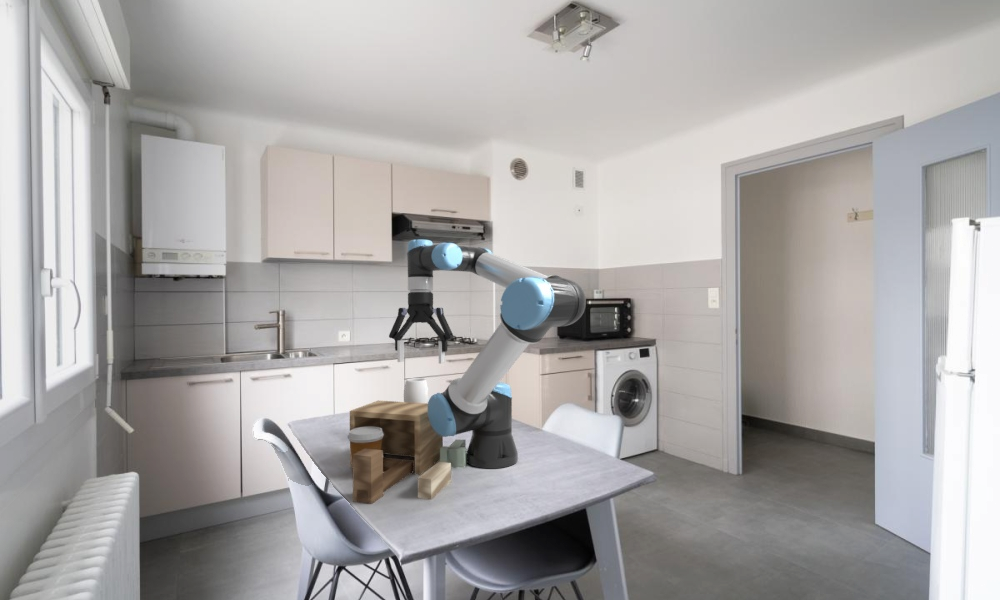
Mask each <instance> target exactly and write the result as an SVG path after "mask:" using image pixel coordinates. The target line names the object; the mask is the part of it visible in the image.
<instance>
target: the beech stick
mask: <svg viewBox="0 0 1000 600" xmlns="http://www.w3.org/2000/svg"><path fill="white" fill-rule="evenodd" d="M451 482H452V467H451V463H446V462H440V461H438V462H436V463H435V464H434V465H432V466H431V467H430V468H428V469H427V470H426V471H424V472H423V473H422V474H420V475H418V477H417V498H418V499H422V500H423V499H424V500H433V499H434V498H435V497H436V496H437V495H438V494H439V493H441V491H442V490H444V489H445V488H446V487H447V486H448V485H450V483H451Z"/></svg>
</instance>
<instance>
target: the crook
mask: <svg viewBox="0 0 1000 600" xmlns="http://www.w3.org/2000/svg"><path fill="white" fill-rule="evenodd" d="M413 473H415V460H410V459H402V458H392V457H384V454H383V450H375V449H363V450H361V451H359V452H357V453H355V454H353V467H352V502H353V503H362V504H368V505H372V504H374V503H375V502H377V501H378V500H380V499H381V498H382V497H384V493H385V492H386V491H388V490H390V489H391V488H393V487H394V486H396V485H397V484H399V482H401V481H403V480H404V479H406V478H407V477H408V476H410V475H412V474H413Z"/></svg>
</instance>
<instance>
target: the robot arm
mask: <svg viewBox="0 0 1000 600" xmlns="http://www.w3.org/2000/svg"><path fill="white" fill-rule="evenodd" d="M406 256H407V290H408V291H409V292H408V293H407V305H408V307H407V308H406V307H399V308H398V310H397V311H398V312H397V316H396V318H395V321H394V323H393V325H392V328H391V330H390V332H389V334H388V337H389V338H390V339H393V340H394V349H395V351H396V352H397V357H396V359H397V360H396V361H397V363H402V362H405V340H404V339H403V337H404V336H405V335H406V333H407V332H408V331H409V329H410V328H411V327H412V326H413V324H414V323H417V324H418V323H423V324H424V323H426V324H427V325H429V327H431V329H432V330H433V332H434V333H435V335H437V337H438V338H439V339H440V340H438V364H445V362H446V357H445V356H446V355H445V354H446V352H447V351H448V341H449V340H451V339H453V338H454V334H453V332H452V329H451V328H450V325H449V322H448V321H447V319H446V317H445V314H444V313H445V312H444V308H443V307H435V308H434V293H433V292H432V291H433V290H434V271H448V272H450V271H451V272H465V273H466V272H467V273H469V272H470V273H472V274H475V275H476V276H479V277H482V278H483V279H486V280H487V281H491V282H492V283H495V284H496V285H498V286H501V287H503V288H505V289H504V291H503V293H502V296H501V299H500V301H501V304H500V314H499V319H500V321H501V322H500V324H499V325H498V326H497V328H496V329H495V330H494V332H493V333H492V334H491V336H490V337H489V339H488V340H487V342H486V343H485V344H484V345H483V347H482V348H481V350H480V351H479V352H478V354H477V355H476V357H475V358H474V359H473V361H472V362H471V364H470V365H469V366H468V368H467V369H466V371H465V372H464V374H463V375H462V377H457V378H455V379H453V380H451V382H450V383H449V384H448V386H447V387H446V389H445V390H444V391H443V392H436V393H434V394H433V395H431V396H430V397H429V398H428V403H427V404H428V408H427V410H428V418H429V421H430V424H431V426H432V428H433V429H434V431H435V432H436V433H437V434H438V435H441V436H442V437H443V438H447V437H454V436H456V435H460V434H464V433H468V432H472V434H471V438H470V441H469V443H468V448H467V449H466V463H467V464H469V465H471V466H473V467H475V468H479V469H480V468H482V469H499V468H501V469H502V468H506V467H510V466H513V465H516V463H517V462H519V461H518V459H519V452H518V449H517V445H516V443H515V440H514V436H513V431H512V429H513V427H512V426H513V425H512V422H513V421H512V419H513V418H512V417H513V415H512V411H513V410H512V406H513V405H512V403H513V402H512V401H513V396H512V388H511V386H510V385H509V384H508V383H504V382H501V380H502V379H503V378H504V376H505V375H507V373H508V372H509V370H510V369H511V367H513V365H514V364H515V363H516V361H518V359H519V358H520V357H521V355H522V354H523V352H525V350H526V349H527V348H528V347H529V345H530V344H531V345H532V344H534V345H535V344H538V343H539V342H540V341H542V339H543V338H544V336H545V335H546V334H547V333H548V332H549V330H550V329H552V328H558V327H560V328H561V327H567V326H570V325H573V324H574V323H576V322H577V321H578V320H580V318H582V316H583V314H584V313H585V310H586V305H587V299H586V294H585V292H584V290H583V288H582V287H581V286H580V285H579V284H578V283H576V282H575V281H573V280H571V279H568V278H564V277H561V276H558V275H557V274H556V275H555V274H551V275H545V274H543V273H541V272H539V271H535V270H534V269H531V268H528V267H526V266H523V265H522V264H518V263H516V262H514V261H510V260H509V259H505V258H503V257H502V256H501V257H500V256H499V255H496V254H494V253H493V252H492V251H491V249H489V248H483V247H479V246H478V247H474V246H464V245H463V246H462V245H457V244H456V243H454V242H442V243H438V244H433V241H432V240H429V239H421V238H420V239H411V240H409V241H408V243H407V253H406ZM407 314H408V317H407V319H406V320H405V317H406V315H407ZM434 315H435V316H436V317H437V319H438V322H439V324H440V325H439V324H438V322H436V319H435V318H434V317H433V316H434ZM404 320H405V322H404ZM403 322H404V324H403ZM402 324H403V325H402ZM440 326H441V327H440Z"/></svg>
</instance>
